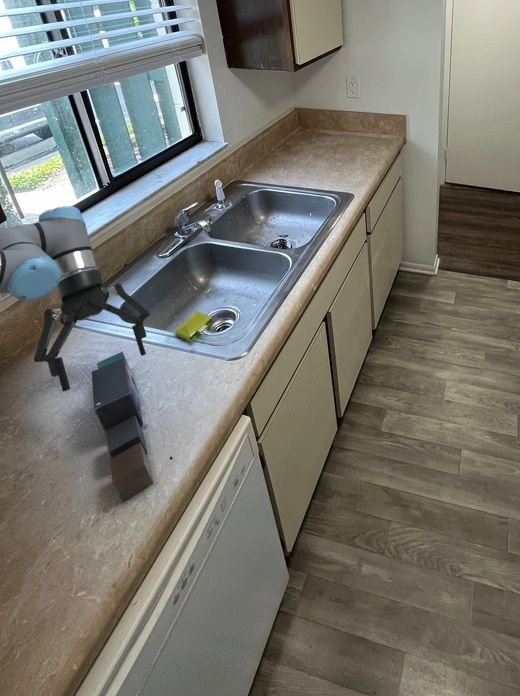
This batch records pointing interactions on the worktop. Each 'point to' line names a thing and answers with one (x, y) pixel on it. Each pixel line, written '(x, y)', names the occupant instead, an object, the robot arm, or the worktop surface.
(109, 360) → the teal block
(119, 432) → the charcoal block
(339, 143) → the worktop surface
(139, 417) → the small box
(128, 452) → the walnut block
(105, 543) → the worktop surface
